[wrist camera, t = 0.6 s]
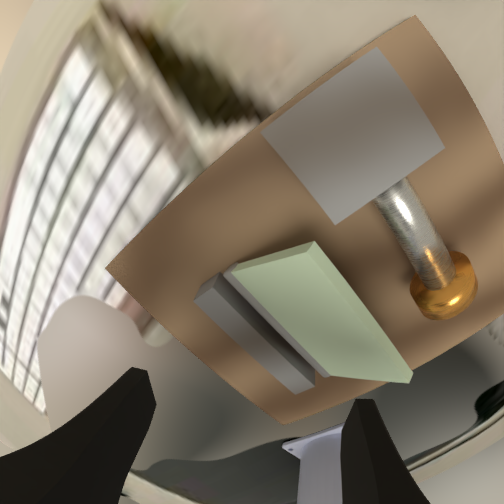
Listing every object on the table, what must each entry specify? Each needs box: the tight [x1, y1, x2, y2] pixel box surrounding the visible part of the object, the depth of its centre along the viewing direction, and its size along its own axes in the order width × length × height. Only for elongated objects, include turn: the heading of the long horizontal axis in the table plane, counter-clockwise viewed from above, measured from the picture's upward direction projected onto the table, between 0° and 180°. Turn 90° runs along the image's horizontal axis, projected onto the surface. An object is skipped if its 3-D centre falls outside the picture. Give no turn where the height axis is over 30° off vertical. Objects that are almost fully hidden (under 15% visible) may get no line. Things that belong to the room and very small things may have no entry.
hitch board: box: [105, 15, 504, 425], centre depth 15 cm, size 18×22×5 cm
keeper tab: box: [223, 241, 413, 383], centre depth 15 cm, size 9×6×1 cm
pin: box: [372, 176, 478, 320], centre depth 13 cm, size 8×3×3 cm, turn 41°
